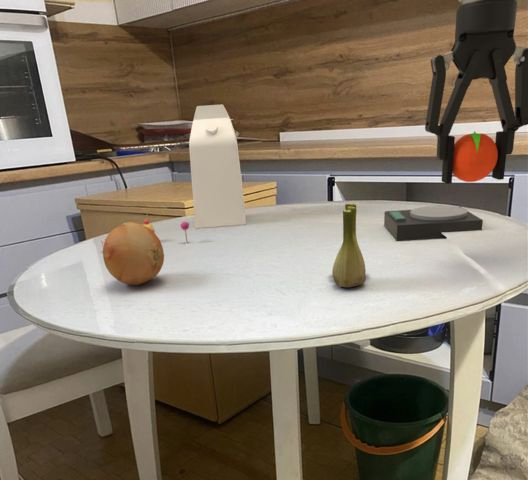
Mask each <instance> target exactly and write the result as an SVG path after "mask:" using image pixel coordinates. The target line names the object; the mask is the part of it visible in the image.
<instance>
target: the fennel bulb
mask: <svg viewBox="0 0 528 480" xmlns="http://www.w3.org/2000/svg"><path fill="white" fill-rule="evenodd" d="M342 232H343V233H342V244H341V246H340V248H339V250H338V252H337V254H336V257H335V259H334V262H333V266H332V270H331V271H332V272H331V273H332V278H333V281H334V283H335V284H336V285H337V286H338V287H341V288H355V287H358V286H362V285H363V284H364V282H365V281H366V279H367V275H366V272H367V271H366V270H367V269H366V264H365V263H366V262H365V259H364V256H363V254H362V251H361V248H360V246H359V243H358V242H359V241H358V239H357V204H356V203H345V205H344V209H343V210H342Z"/></svg>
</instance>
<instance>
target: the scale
mask: <svg viewBox="0 0 528 480" xmlns="http://www.w3.org/2000/svg"><path fill="white" fill-rule="evenodd" d="M383 218H384V219H383V226H384V227H385V228H386V229H387V231H388V232H389V233H390V235H391V236H392V237H393V238H394V239H395V240H396V242H402V241H416V240H433V239H447V238H448V237H447V236H446V235H445V234H444V233H457V232H458V233H459V232H474V231H476V232H477V231H483V223H484V220H483V219H482V218H480V217H479V216H477V215H475V214H473V213H472V212H470V211H468V209H466V208H464V207H463V206H454V205H428V206H427V205H426V206H420V207H415V208H413V209H402V210H401V209H399V210H385V211H384V217H383Z"/></svg>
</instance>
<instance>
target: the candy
mask: <svg viewBox="0 0 528 480" xmlns="http://www.w3.org/2000/svg"><path fill="white" fill-rule="evenodd" d="M148 214H149V213H146V217H145V219H144V220H143V225H144V226H146V227H147V228H149V229H150V230H152V231H153V232H154V233H155V234H156V231H155V227H154V225H153V224H151V223H150V221H149V219H148ZM189 228H190V224H189V223H188V221H182V222H181V223H180V229H182V230H183V231H184V235H185V243H186V244H187V243H189V242H188V233H187V231H188V230H189ZM105 240H106V238H103V237H101V238H100V243H101V246H102V248H103V246H104V243H105Z"/></svg>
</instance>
